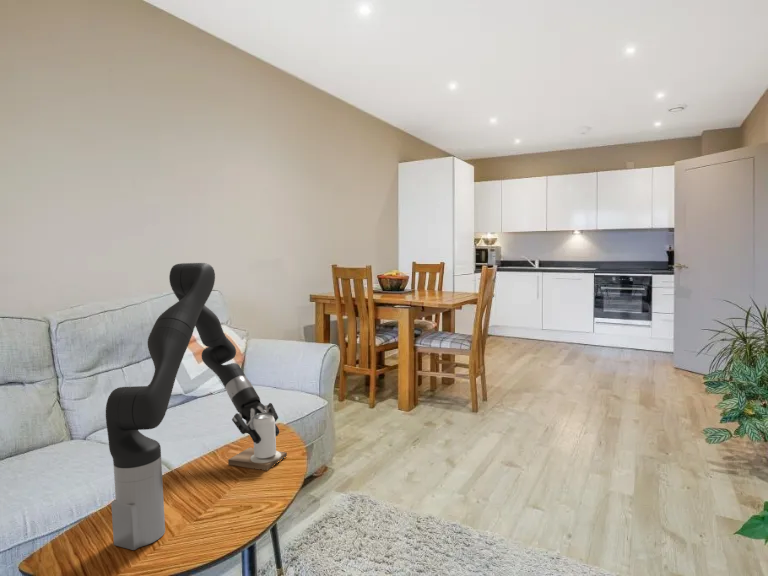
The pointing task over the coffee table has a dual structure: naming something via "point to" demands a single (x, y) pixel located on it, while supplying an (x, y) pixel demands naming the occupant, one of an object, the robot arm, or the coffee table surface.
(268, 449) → the can
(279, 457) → the board
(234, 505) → the coffee table surface
